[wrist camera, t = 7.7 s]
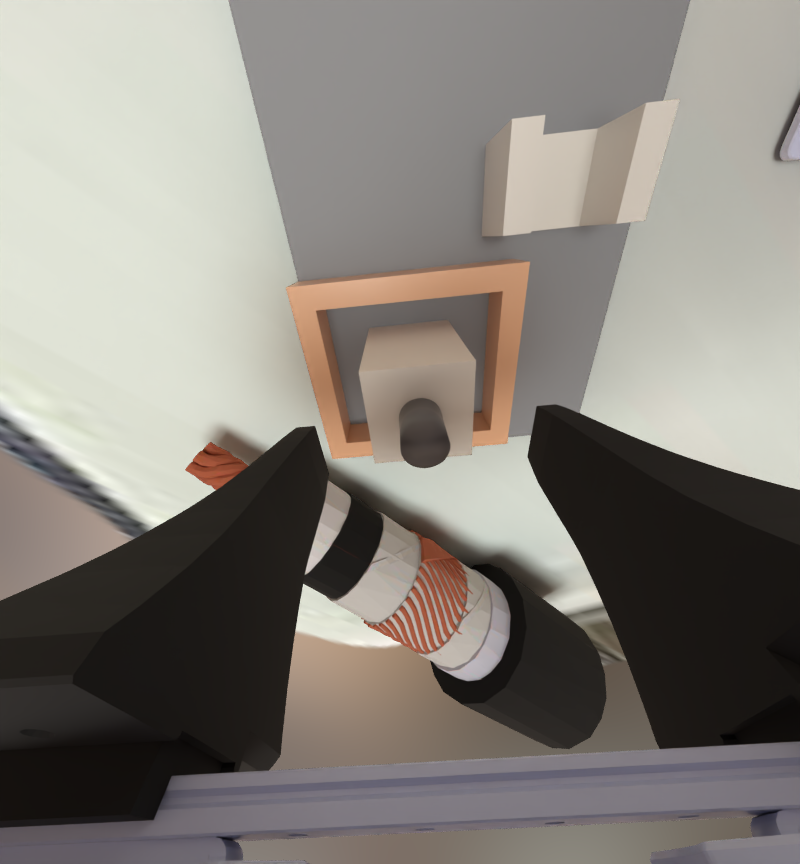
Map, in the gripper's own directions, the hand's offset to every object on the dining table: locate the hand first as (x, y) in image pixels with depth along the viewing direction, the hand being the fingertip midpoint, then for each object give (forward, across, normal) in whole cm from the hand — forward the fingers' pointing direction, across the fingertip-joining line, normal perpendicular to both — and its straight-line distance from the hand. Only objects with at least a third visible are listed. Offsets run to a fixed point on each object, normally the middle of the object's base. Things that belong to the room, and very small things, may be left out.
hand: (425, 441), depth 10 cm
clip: (+9, -6, -7) cm, 13 cm away
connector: (+8, 0, 0) cm, 8 cm away
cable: (+9, +1, +16) cm, 19 cm away
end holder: (+8, 0, 0) cm, 9 cm away
